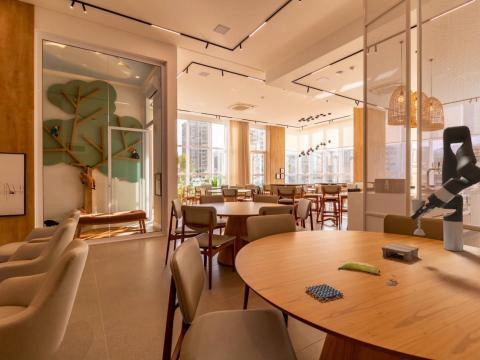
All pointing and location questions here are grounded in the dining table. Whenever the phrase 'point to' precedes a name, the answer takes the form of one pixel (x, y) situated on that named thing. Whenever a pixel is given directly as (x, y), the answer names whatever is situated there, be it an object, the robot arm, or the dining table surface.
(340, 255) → the dining table surface
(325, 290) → the blue patterned piece
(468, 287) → the dining table surface
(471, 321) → the dining table surface
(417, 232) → the chalice
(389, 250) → the square lamp base
